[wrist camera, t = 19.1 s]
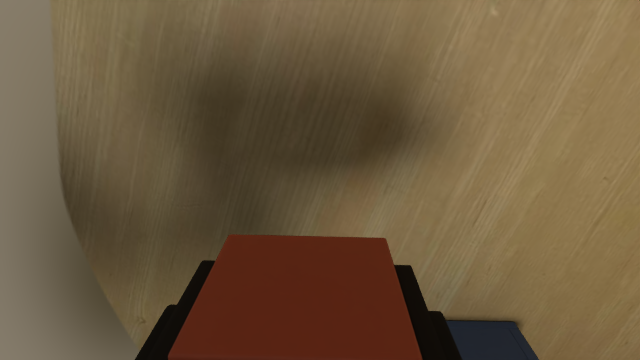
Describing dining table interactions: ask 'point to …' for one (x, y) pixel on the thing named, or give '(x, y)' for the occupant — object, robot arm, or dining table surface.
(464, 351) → the blue bin
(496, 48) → the dining table surface
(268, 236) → the red block
